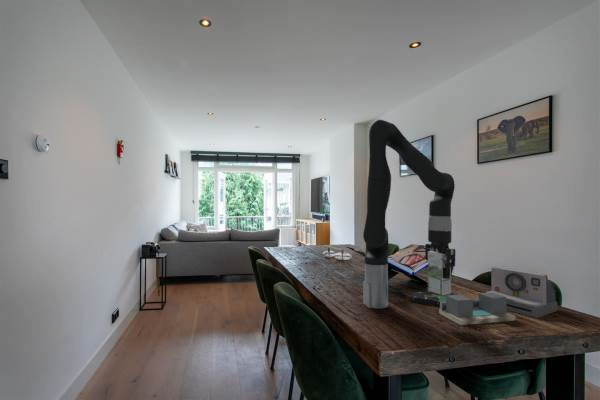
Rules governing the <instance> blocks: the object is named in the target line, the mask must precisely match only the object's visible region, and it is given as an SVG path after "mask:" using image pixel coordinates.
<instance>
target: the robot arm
mask: <svg viewBox="0 0 600 400" xmlns="http://www.w3.org/2000/svg"><path fill="white" fill-rule="evenodd" d="M369 128H370V129H369V132H368V133H369V134H368V141H369V142H368V144H369V145H368V147H369V160H368V161H369V162H368V174H367V175H368V177H367V188H366V191H367V192H366V217H365V218H366V219H365V224H364V229H363V235H362V236H363V241H364V242H365V255H364V280H363V281H362V292H363V293H362V304H363V305H364V306H365V307H367V308H369V309H381V310H382V309H386V308H388V307H389V276H388V275H389V274H388V273H389V270H388V269H389V266H388V265H389V263H388V261H389V233H388V230H387V228H386V215H387V213H386V212H387V208H388V205H389V200H390V196H391V187H392V174H391V169H390V166H389V163H388V159H387V147H389V149H392V150H394V151H395V152H396V153H397V154H398V155H399V157H400V158H401V160H402V162H404V164H405V165H406V166H407V168H409V169H410V170H411V171H412V172H413V173H414V174H415V175H416V176H417V177H418V178H419V180H420V181H421V182H422V184H423V185H424V186H425V187H426V188H427V189H428V190H429V191H431V192H434V197H433V199H431V200H430V202H429V208H428V209H429V210H428V222H427V223H428V224H427V225H428V227H427V229H428V230H427V234H428V235H427V240H428V241H427V242H429V243H426V244H424V245H425V246H424V248H425V249H424V251H425V252H424V253H425V255H424V256H425V257H424V258H425V260H426V261H428V251H436V253H443V254H445V255H446V256H447V257H446V258H443V259H442V258H441V260H442V261H443V278H444V279H449V278H450V268H451V269H452V267H453V268H454V267H455V266H456V248H450V246H449V245H450V244H451V243H452V217H451V216H452V201H453V197H454V192H455V187H456V186H455V185H456V184H455V180H454V179H455V178H454V177H453V176H452V174H449V173H447V172H441V171H439V170H438V169H437V168H436V167H435V164H434V163H433V161H432V160H431V159H429V158H428V157H427V156H426V155H425V154H424V153H422V152H421V150H419V149H418V148H416V147H415V146H414V145H413V144H412V143H411V142H410V141H409V140H408V139H407V138H406V137H405V136H404V135H403V133H402V132H401V130H400V129H399V128H398V127H397V125H396V124H394V123H392V122H390V121H387V120H384V119H376V120H375V121H374V122H372V124H371V125H370V127H369ZM450 260H451V263H450ZM445 261H446V263H445Z"/></svg>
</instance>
